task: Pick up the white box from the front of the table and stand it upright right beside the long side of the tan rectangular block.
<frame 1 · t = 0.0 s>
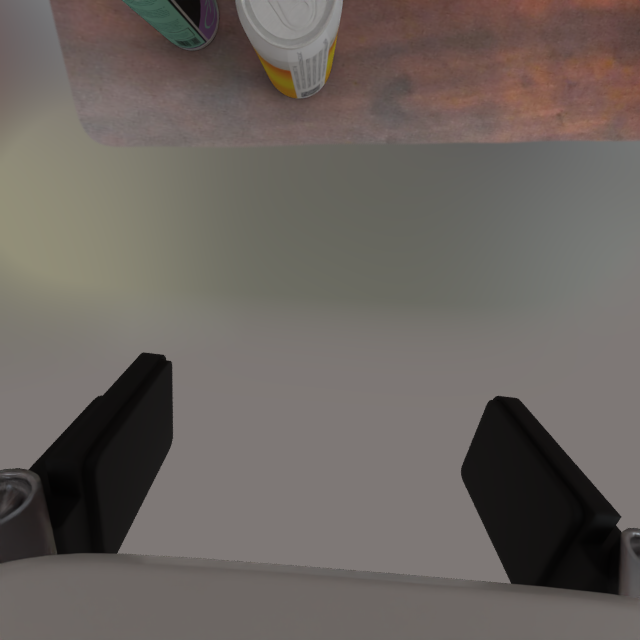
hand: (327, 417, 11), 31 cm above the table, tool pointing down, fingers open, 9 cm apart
spray can: (188, 14, 32), on the table
beer can: (298, 62, 33), on the table
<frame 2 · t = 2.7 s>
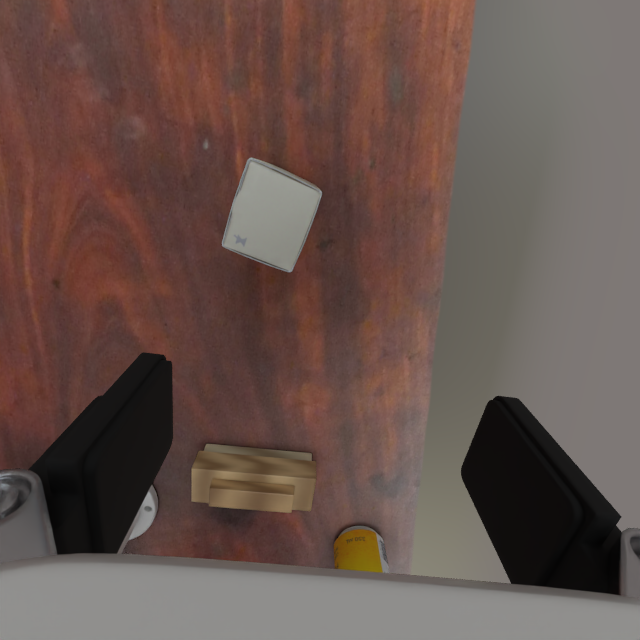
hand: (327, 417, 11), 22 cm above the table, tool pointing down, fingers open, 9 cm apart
beer can: (357, 538, 45), on the table
tan rectangular block: (258, 461, 39), on the table
white box: (283, 203, 29), on the table
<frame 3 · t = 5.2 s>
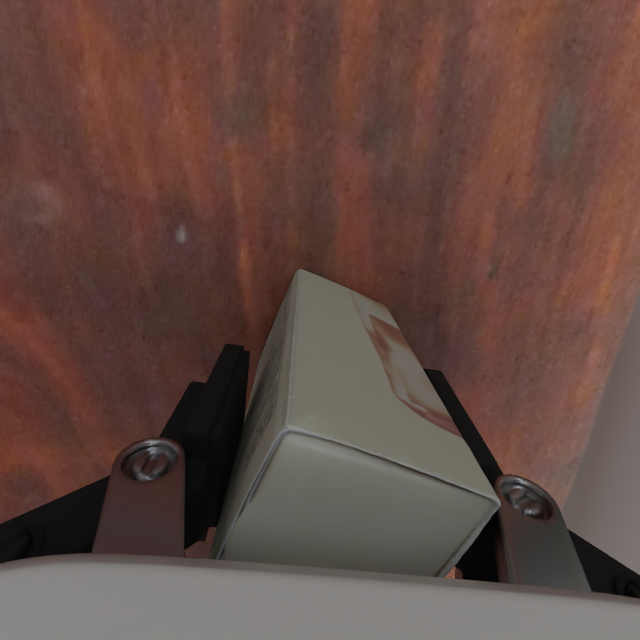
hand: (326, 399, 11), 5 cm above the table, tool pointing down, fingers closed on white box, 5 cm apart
white box: (323, 331, 16), on the table, touching gripper
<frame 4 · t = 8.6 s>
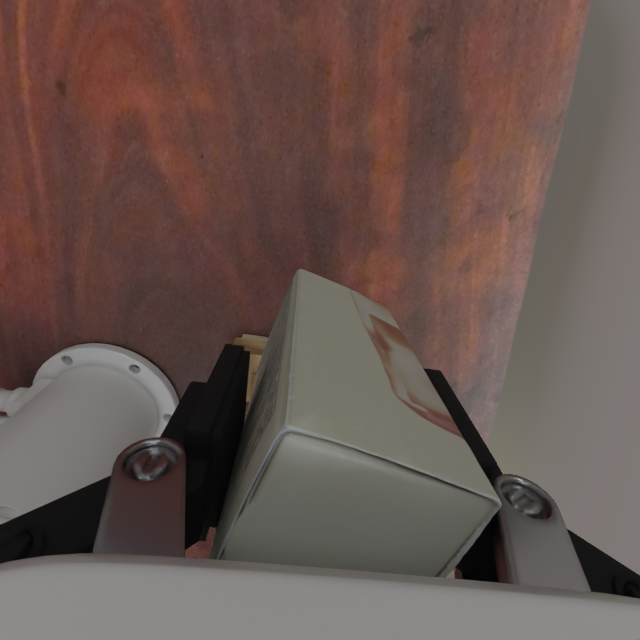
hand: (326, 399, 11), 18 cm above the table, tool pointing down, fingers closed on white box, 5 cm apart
tan rectangular block: (305, 361, 32), on the table
white box: (323, 331, 16), point 13 cm above the table, touching gripper
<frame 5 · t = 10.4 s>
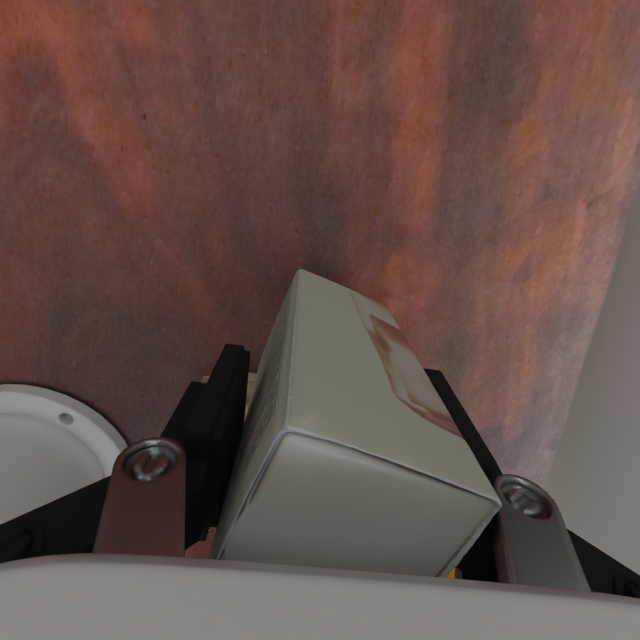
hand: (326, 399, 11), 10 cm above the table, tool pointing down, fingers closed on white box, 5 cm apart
white box: (323, 331, 16), point 5 cm above the table, touching gripper
when the fingers open (5 cm above the table, at t = 12.0 s): white box stays where it is, on the table.
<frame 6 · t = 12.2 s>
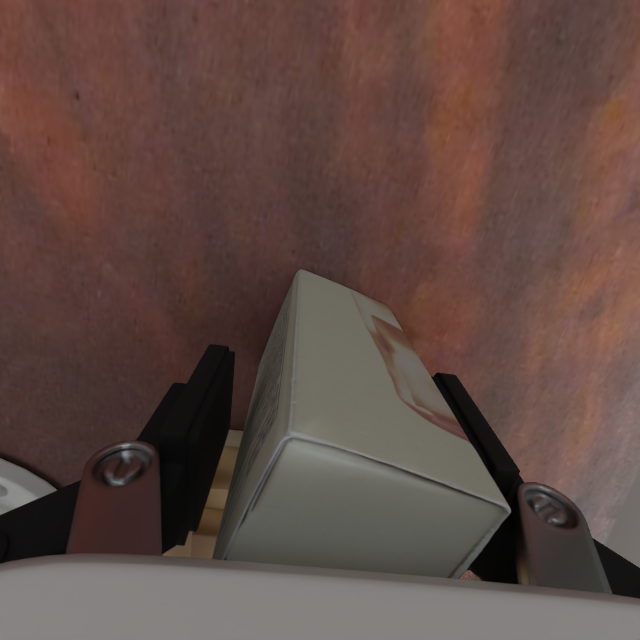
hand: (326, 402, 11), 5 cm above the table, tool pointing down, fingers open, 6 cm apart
tan rectangular block: (299, 466, 19), on the table
white box: (324, 332, 16), on the table
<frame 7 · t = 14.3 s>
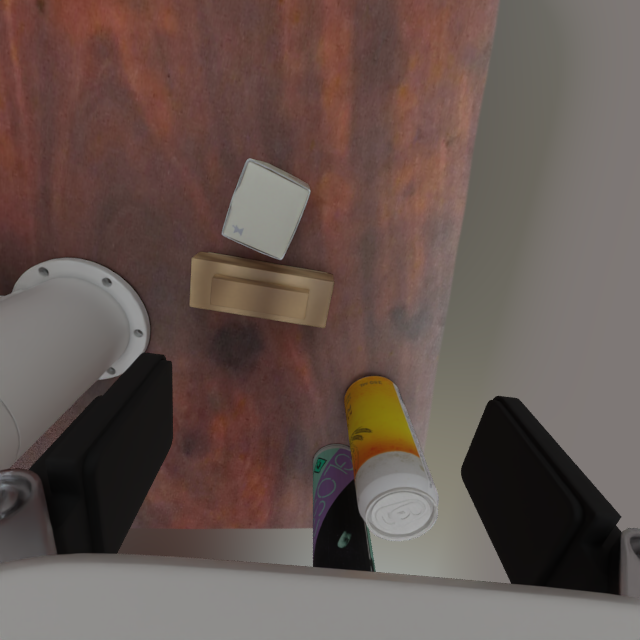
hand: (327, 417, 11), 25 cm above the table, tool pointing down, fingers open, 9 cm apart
spray can: (335, 460, 44), on the table
beer can: (370, 394, 40), on the table
tan rectangular block: (266, 281, 35), on the table
white box: (278, 199, 32), on the table
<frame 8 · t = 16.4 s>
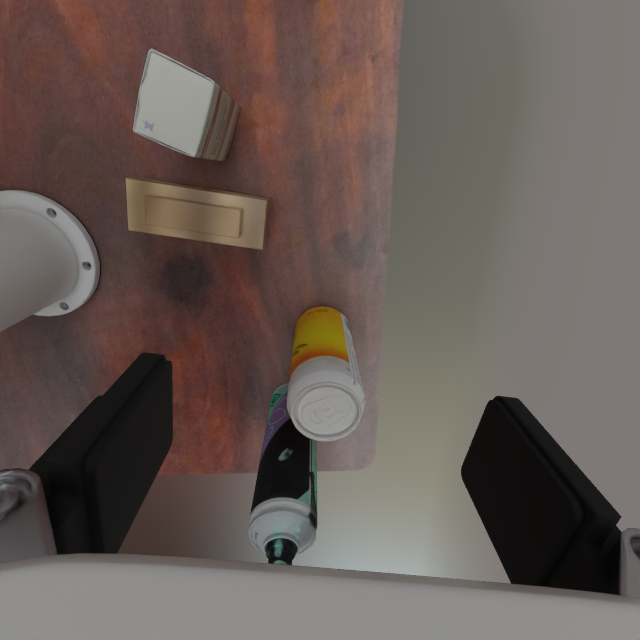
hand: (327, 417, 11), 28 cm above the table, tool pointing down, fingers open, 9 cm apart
spray can: (293, 399, 45), on the table
beer can: (322, 328, 41), on the table
tan rectangular block: (208, 210, 35), on the table
white box: (212, 123, 33), on the table
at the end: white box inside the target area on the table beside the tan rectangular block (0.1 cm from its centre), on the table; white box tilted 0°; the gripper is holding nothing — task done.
